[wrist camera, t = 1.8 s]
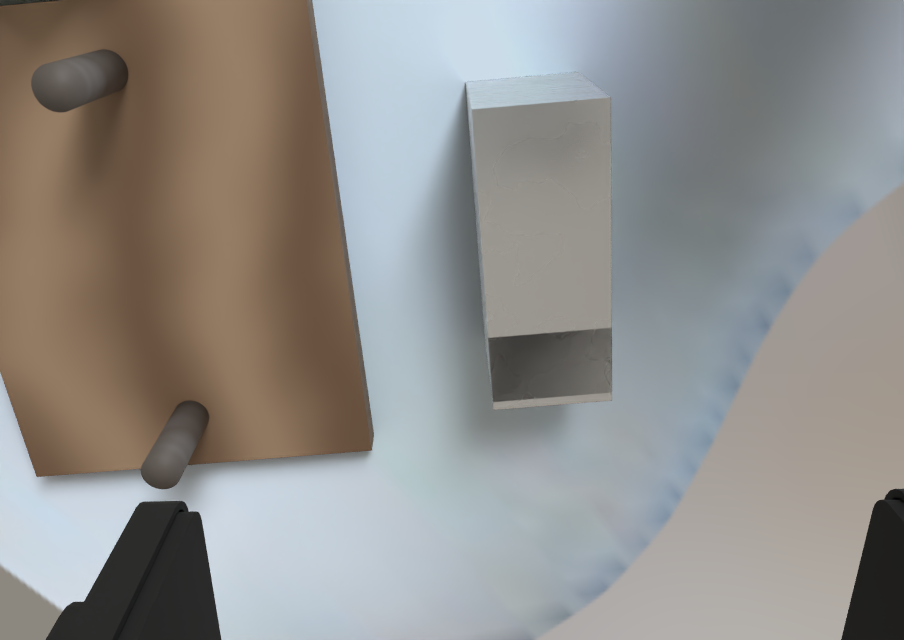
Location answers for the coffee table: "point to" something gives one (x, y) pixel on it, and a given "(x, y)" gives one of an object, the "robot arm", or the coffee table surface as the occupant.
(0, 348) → the pin tray
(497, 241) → the block
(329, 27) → the coffee table surface
